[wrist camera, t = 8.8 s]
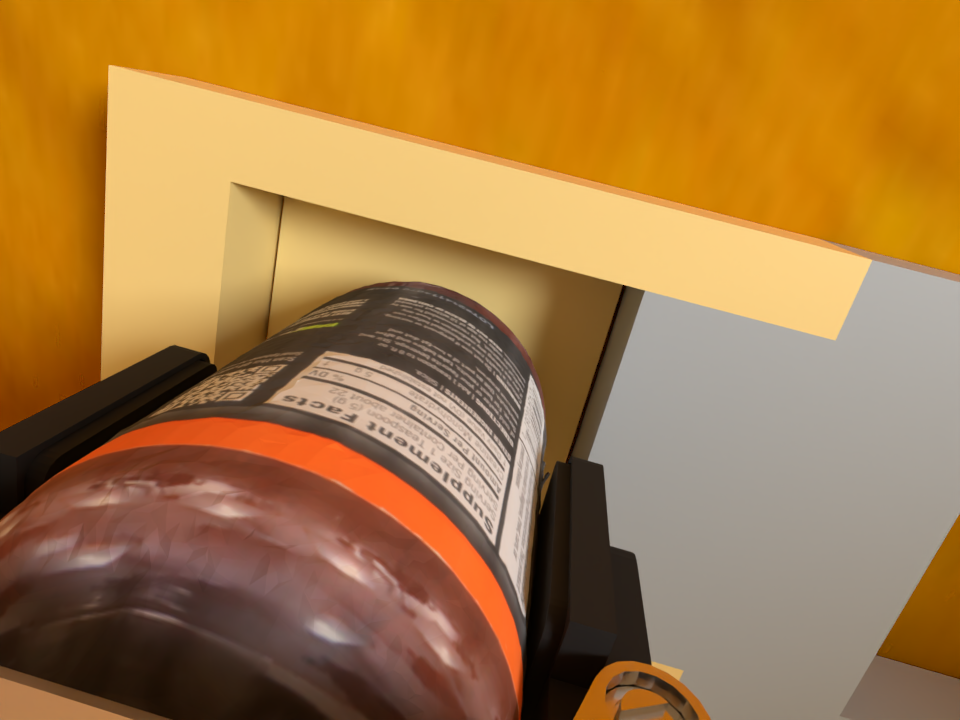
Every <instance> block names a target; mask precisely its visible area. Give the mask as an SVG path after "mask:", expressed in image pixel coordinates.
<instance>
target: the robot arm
mask: <svg viewBox="0 0 960 720" xmlns="http://www.w3.org/2000/svg"><path fill="white" fill-rule="evenodd" d="M215 372H217V367H216V366H215V364H211V363H210V359H209V357H208V355H207V354H205V353H202V352H198V351H195V350H191V349H187V348H184V347H180V346H177V345H172V346H169V347H167V348H165V349H163V350H161V351H159V352H157V353H155V354H153V355H151V356H149V357H147V358H145V359H143V360H141V361H139V362H137V363H136V364H134V365H132V366H130V367H128V368H126V369H124V370H122V371H120V372H118V373H116V374H114V375H112V376H110V377H108V378H106V379H104V380H102V381H100V382H98V383H96V384H94V385H92V386H90V387H88V388H86V389H84V390H82V391H80V392H78V393H76V394H74V395H72V396H70V397H68V398H66V399H64V400H62V401H60V402H58V403H56V404H54V405H52V406H50V407H48V408H47V409H45V410H43V411H41V412H39V413H37V414H35V415H33V416H31V417H29V418H27V419H25V420H23V421H21V422H19V423H17V424H15V425H13V426H11V427H9V428H7V429H5V430H3V431H1V432H0V520H1V519H2V518H3V517H4V516H6V515H7V514H8V513H9V512H10V511H11V510H13V509H14V508H15V507H17V506H18V505H19V504H20V503H22V502H23V501H24V500H25V499H26V498H27V497H28V496H29V495H30V494H31V493H33V492H34V491H35V490H36V489H38V488H39V487H40V486H41V485H43V484H44V483H45V482H47V481H48V480H49V479H51V478H52V477H53V476H55V475H56V474H58V473H59V472H61V471H62V470H64V469H66V468H67V467H69V466H70V465H72V464H73V463H75V462H77V461H78V460H80V459H81V458H83V457H85V456H86V455H88V454H89V453H91V452H92V451H94V450H96V449H97V448H99V447H101V446H102V445H103V444H105V443H106V442H108V441H109V440H110V439H111V438H112V437H114V436H115V435H116V434H117V433H118V432H120V431H121V430H123V429H125V428H127V427H129V426H131V425H133V424H134V423H136V422H138V421H139V420H141V419H143V418H144V417H146V416H148V415H149V414H151V413H152V412H154V411H156V410H157V409H159V408H160V407H161V406H163V405H164V404H166V403H167V402H168V401H170V400H172V399H174V398H175V397H177V396H178V395H180V394H181V393H183V392H184V391H186V390H188V389H189V388H191V387H193V386H195V385H196V384H198V383H200V382H201V381H203V380H204V379H206V378H208V377H209V376H211V375H213V374H214V373H215ZM539 515H540V523H539V526H538V551H537V558H536V574H535V577H534V581H533V599H532V604H531V609H530V620H531V629H530V633H529V637H528V640H527V644H528V652H527V658H528V662H527V672H526V677H525V682H524V687H523V698H524V706H523V710H522V713H521V720H711V719H710V716H709V715H708V713H707V711H706V710H705V708H704V707H703V705H702V704H701V702H700V701H699V699H698V698H697V697H696V696H695V695H694V694H693V693H692V692H691V691H690V690H689V689H688V688H687V687H686V686H685V685H684V684H683V683H681V682H680V681H678V680H677V679H676V678H674V677H673V676H671V675H670V674H669V673H667V672H665V671H662V670H660V669H658V668H656V667H654V666H652V663H651V656H650V649H649V642H648V635H647V628H646V621H645V614H644V607H643V600H642V593H641V586H640V579H639V572H638V565H637V559H636V556H635V554H634V553H633V552H630V551H626V550H623V549H620V548H616V547H613V546H610V540H609V527H608V515H607V503H606V491H605V479H604V467H603V465H602V464H598V463H594V462H591V461H587V460H584V459H580V458H577V457H573V456H571V457H570V459H569V461H568V464H567V463H564V462H560V461H557V462H556V464H555V467H554V470H553V473H552V476H551V479H550V482H549V486H548V489H547V492H546V495H545V498H544V501H543V505H542V508H541V511H540V514H539ZM0 720H171V719H168V718H165V717H162V716H158V715H155V714H152V713H149V712H146V711H143V710H139V709H136V708H133V707H130V706H127V705H124V704H120V703H117V702H114V701H111V700H108V699H105V698H101V697H98V696H95V695H92V694H89V693H85V692H82V691H79V690H76V689H73V688H69V687H66V686H63V685H60V684H57V683H53V682H50V681H47V680H44V679H41V678H37V677H34V676H31V675H28V674H25V673H21V672H18V671H15V670H12V669H9V668H6V667H2V666H0Z"/></svg>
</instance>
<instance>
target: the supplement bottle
mask: <svg viewBox="0 0 960 720" xmlns="http://www.w3.org/2000/svg"><path fill="white" fill-rule="evenodd" d="M546 443H547V434H546V424H545V406H544V399H543V392H542V388H541V385H540V381H539V377H538V375H537V373H536V370H535V368H534V366H533V363H532V360H531V358H530V357H529V355H528V353H527V351H526V349H525V348H524V347H523V345H522V344H521V342H520V341H519V339H518V338H517V337H516V336H515V335H514V333H513V332H512V331H511V330H510V329H509V328H508V327H507V326H506V325H505V324H504V323H503V322H502V321H501V320H500V319H499V318H498V317H497V316H496V315H494V314H493V313H492V312H490V311H489V310H488V309H486V308H485V307H483V306H482V305H481V304H479V303H478V302H476V301H474V300H472V299H470V298H468V297H466V296H464V295H462V294H460V293H458V292H455V291H453V290H450V289H447V288H444V287H441V286H438V285H433V284H429V283H424V282H398V281H393V282H385V283H376V284H373V285H369V286H363V287H361V288H358V289H354V290H352V291H350V292H348V293H346V294H344V295H342V296H338V297H336V298H334V299H332V300H330V301H329V302H326V303H324V304H322V305H321V306H319V307H318V308H316V309H314V310H312V311H311V312H309V313H308V314H306V315H304V316H302V317H301V318H300V319H298V320H297V321H296V322H294V323H293V324H291V325H289V326H287V327H286V328H284V329H282V330H281V331H280V332H278V333H277V334H275V335H273V336H271V337H270V338H269V339H267V340H265V341H264V342H262V343H261V344H259V345H257V346H256V347H254V348H253V349H251V350H249V351H248V352H246V353H244V354H242V355H241V356H239V357H238V358H237V359H235V360H234V361H232V362H230V363H229V364H227V365H225V366H224V367H222V368H221V369H219V370H218V371H217V372H215V373H214V374H213V375H211V376H209V377H208V378H206V379H204V380H203V381H201V382H200V383H198V384H196V385H195V386H193V387H191V388H189V389H188V390H186V391H184V392H183V393H181V394H180V395H178V396H177V397H175V398H174V399H172V400H170V401H168V402H167V403H166V404H164V405H163V406H161V407H160V408H159V409H157V410H156V411H154V412H152V413H151V414H149V415H148V416H146V417H144V418H143V419H141V420H139V421H138V422H136V423H134V424H133V425H131V426H129V427H127V428H125V429H123V430H121V431H120V432H118V433H117V434H116V435H115V436H114V437H112V438H111V439H110V440H109V441H108V442H106V443H105V444H103V445H102V446H101V447H99V448H97V449H96V450H94V451H92V452H91V453H89V454H88V455H86V456H85V457H83V458H81V459H80V460H78V461H77V462H75V463H73V464H72V465H70V466H69V467H67V468H66V469H64V470H62V471H61V472H59V473H58V474H56V475H55V476H53V477H52V478H51V479H49V480H48V481H47V482H45V483H44V484H43V485H41V486H40V487H39V488H38V489H36V490H35V491H34V492H33V493H31V494H30V495H29V496H28V497H27V498H26V499H25V500H24V501H23V502H22V503H20V504H19V505H18V506H17V507H15V508H14V509H13V510H11V511H10V512H9V513H8V514H7V515H6V516H4V517H3V518H2V519H1V520H0V666H2V667H6V668H9V669H12V670H15V671H18V672H21V673H25V674H28V675H31V676H34V677H37V678H41V679H44V680H47V681H50V682H53V683H57V684H60V685H63V686H66V687H69V688H73V689H76V690H79V691H82V692H85V693H89V694H92V695H95V696H98V697H101V698H105V699H108V700H111V701H114V702H117V703H120V704H124V705H127V706H130V707H133V708H136V709H139V710H143V711H146V712H149V713H152V714H155V715H158V716H162V717H165V718H168V719H171V720H521V713H522V710H523V706H524V698H523V687H524V682H525V677H526V672H527V662H528V658H527V652H528V644H527V640H528V637H529V633H530V629H531V620H530V609H531V604H532V599H533V581H534V577H535V574H536V558H537V551H538V526H539V523H540V515H539V512H540V509H541V490H542V488H543V485H544V483H545V481H546V480H547V479H548V477H549V475H550V473H549V472H547V473H546V474H545V476H544V473H543V471H544V468H545V465H546V464H545V462H544V461H543V458H544V453H545V448H546ZM543 476H544V479H543Z"/></svg>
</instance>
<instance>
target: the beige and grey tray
mask: <svg viewBox="0 0 960 720" xmlns="http://www.w3.org/2000/svg"><path fill="white" fill-rule="evenodd" d="M283 199H284V204H283ZM282 207H283V212H282ZM281 215H282V220H281ZM280 223H281V228H280ZM279 231H280V237H279ZM278 239H279V245H278ZM277 248H278V253H277ZM276 256H277V261H276ZM275 264H276V269H275ZM274 272H275V277H274ZM273 280H274V285H273ZM393 281H398V282H424V283H429V284H433V285H438V286H441V287H444V288H447V289H450V290H453V291H455V292H458V293H460V294H462V295H464V296H466V297H468V298H470V299H472V300H474V301H476V302H478V303H479V304H481V305H482V306H483V307H485V308H486V309H488V310H489V311H490V312H492V313H493V314H494V315H496V316H497V317H498V318H499V319H500V320H501V321H502V322H503V323H504V324H505V325H506V326H507V327H508V328H509V329H510V330H511V331H512V332H513V333H514V335H515V336H516V337H517V338H518V339H519V341H520V342H521V344H522V345H523V347H524V348H525V349H526V351H527V353H528V355H529V357H530V358H531V360H532V363H533V366H534V368H535V370H536V373H537V375H538V377H539V381H540V385H541V388H542V392H543V399H544V406H545V424H546V434H547V443H546V448H545V453H544V458H543V461H544V462H545V464H546V465H545V468H544V471H543V473H544V476H545V474H546V473H547V472H549V473H550V475H549V477H548V479H547V480H546V481H545V483H544V485H543V488H542V490H541V508H542V505H543V501H544V498H545V495H546V492H547V489H548V486H549V482H550V479H551V476H552V473H553V470H554V467H555V464H556V462H557V461H560V462H564V463H566V460H567V457H568V453H569V450H570V447H571V444H572V441H573V438H574V435H575V432H576V429H577V426H578V423H579V419H580V416H581V413H582V410H583V407H584V404H585V401H586V398H587V395H588V392H589V389H590V385H591V382H592V379H593V376H594V373H595V370H596V367H597V364H598V361H599V358H600V355H601V351H602V348H603V345H604V342H605V339H606V336H607V333H608V330H609V327H610V324H611V320H612V317H613V314H614V311H615V308H616V305H617V302H618V299H619V296H620V293H621V290H622V286H623V285H626V288H625V291H624V294H623V297H622V300H621V303H620V306H619V309H618V313H617V316H616V319H615V322H614V325H613V328H612V331H611V334H610V337H609V340H608V343H607V346H606V349H605V352H604V356H603V359H602V362H601V365H600V368H599V371H598V374H597V377H596V380H595V383H594V386H593V389H592V392H591V395H590V399H589V402H588V405H587V408H586V411H585V414H584V417H583V420H582V423H581V426H580V429H579V432H578V435H577V439H576V442H575V445H574V448H573V451H572V454H571V456H573V457H577V458H580V459H584V460H587V461H591V462H594V463H598V464H602V465H603V467H604V479H605V491H606V503H607V515H608V527H609V540H610V546H613V547H616V548H620V549H623V550H626V551H630V552H633V553H634V554H635V556H636V559H637V565H638V572H639V579H640V586H641V593H642V600H643V607H644V614H645V621H646V628H647V635H648V642H649V649H650V656H651V663H652V666H654V667H656V668H658V669H660V670H662V671H665V672H667V673H669V674H670V675H671V676H673V677H674V678H676V679H677V680H678V681H680V682H681V683H683V684H684V685H685V686H686V687H687V688H688V689H689V690H690V691H691V692H692V693H693V694H694V695H695V696H696V697H697V698H698V699H699V701H700V702H701V704H702V705H703V707H704V708H705V710H706V711H707V713H708V715H709V716H710V719H711V720H960V679H957V678H954V677H950V676H947V675H943V674H940V673H936V672H933V671H929V670H926V669H922V668H919V667H916V666H912V665H909V664H905V663H902V662H898V661H895V660H891V659H888V658H884V657H881V656H877V655H876V653H877V652H878V650H879V648H880V647H881V645H882V643H883V642H884V640H885V638H886V637H887V635H888V633H889V632H890V630H891V628H892V627H893V625H894V623H895V621H896V620H897V618H898V616H899V615H900V613H901V611H902V610H903V608H904V606H905V605H906V603H907V601H908V600H909V598H910V596H911V595H912V593H913V591H914V590H915V588H916V586H917V584H918V583H919V581H920V579H921V578H922V576H923V574H924V573H925V571H926V569H927V568H928V566H929V564H930V563H931V561H932V559H933V558H934V556H935V554H936V552H937V551H938V549H939V547H940V546H941V544H942V542H943V541H944V539H945V537H946V536H947V534H948V532H949V531H950V529H951V527H952V526H953V524H954V522H955V521H956V519H957V517H958V515H959V514H960V275H958V274H954V273H951V272H947V271H943V270H939V269H935V268H931V267H927V266H923V265H919V264H915V263H911V262H907V261H904V260H900V259H896V258H892V257H888V256H884V255H880V254H876V253H872V252H868V251H864V250H860V249H857V248H853V247H849V246H845V245H841V244H837V243H833V242H829V241H825V240H821V239H817V238H813V237H809V236H806V235H802V234H798V233H794V232H790V231H786V230H782V229H778V228H774V227H770V226H766V225H762V224H759V223H755V222H751V221H747V220H743V219H739V218H735V217H731V216H727V215H723V214H719V213H715V212H711V211H708V210H704V209H700V208H696V207H692V206H688V205H684V204H680V203H676V202H672V201H668V200H664V199H661V198H657V197H653V196H649V195H645V194H641V193H637V192H633V191H629V190H625V189H621V188H617V187H614V186H610V185H606V184H602V183H598V182H594V181H590V180H586V179H582V178H578V177H574V176H570V175H566V174H563V173H559V172H555V171H551V170H547V169H543V168H539V167H535V166H531V165H527V164H523V163H519V162H516V161H512V160H508V159H504V158H500V157H496V156H492V155H488V154H484V153H480V152H476V151H472V150H469V149H465V148H461V147H457V146H453V145H449V144H445V143H441V142H437V141H433V140H429V139H425V138H421V137H418V136H414V135H410V134H406V133H402V132H398V131H394V130H390V129H386V128H382V127H378V126H374V125H371V124H367V123H363V122H359V121H355V120H351V119H347V118H343V117H339V116H335V115H331V114H327V113H323V112H320V111H316V110H312V109H308V108H304V107H300V106H296V105H292V104H288V103H284V102H280V101H276V100H273V99H269V98H265V97H261V96H257V95H253V94H249V93H245V92H241V91H237V90H233V89H229V88H226V87H222V86H218V85H214V84H210V83H206V82H202V81H198V80H194V79H190V78H186V77H180V76H174V75H168V74H162V73H156V72H150V71H144V70H138V69H132V68H126V67H119V66H113V65H109V74H108V113H107V153H106V192H105V231H104V270H103V309H102V348H101V381H102V380H104V379H106V378H108V377H110V376H112V375H114V374H116V373H118V372H120V371H122V370H124V369H126V368H128V367H130V366H132V365H134V364H136V363H137V362H139V361H141V360H143V359H145V358H147V357H149V356H151V355H153V354H155V353H157V352H159V351H161V350H163V349H165V348H167V347H169V346H172V345H177V346H180V347H184V348H187V349H191V350H195V351H198V352H202V353H205V354H207V355H208V357H209V359H210V363H211V364H215V366H216V367H217V371H218V370H219V369H221V368H222V367H224V366H225V365H227V364H229V363H230V362H232V361H234V360H235V359H237V358H238V357H239V356H241V355H242V354H244V353H246V352H248V351H249V350H251V349H253V348H254V347H256V346H257V345H259V344H261V343H262V342H264V341H265V340H266V337H267V339H269V338H270V337H271V336H273V335H275V334H277V333H278V332H280V331H281V330H282V329H284V328H286V327H287V326H289V325H291V324H293V323H294V322H296V321H297V320H298V319H300V318H301V317H302V316H304V315H306V314H308V313H309V312H311V311H312V310H314V309H316V308H318V307H319V306H321V305H322V304H324V303H326V302H329V301H330V300H332V299H334V298H336V297H338V296H342V295H344V294H346V293H348V292H350V291H352V290H354V289H358V288H361V287H363V286H369V285H373V284H376V283H385V282H393ZM272 288H273V293H272ZM271 296H272V301H271ZM270 305H271V310H270ZM269 313H270V318H269ZM268 321H269V326H268ZM267 329H268V334H267ZM544 476H543V479H544ZM540 511H541V509H540ZM539 514H540V512H539Z"/></svg>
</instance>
